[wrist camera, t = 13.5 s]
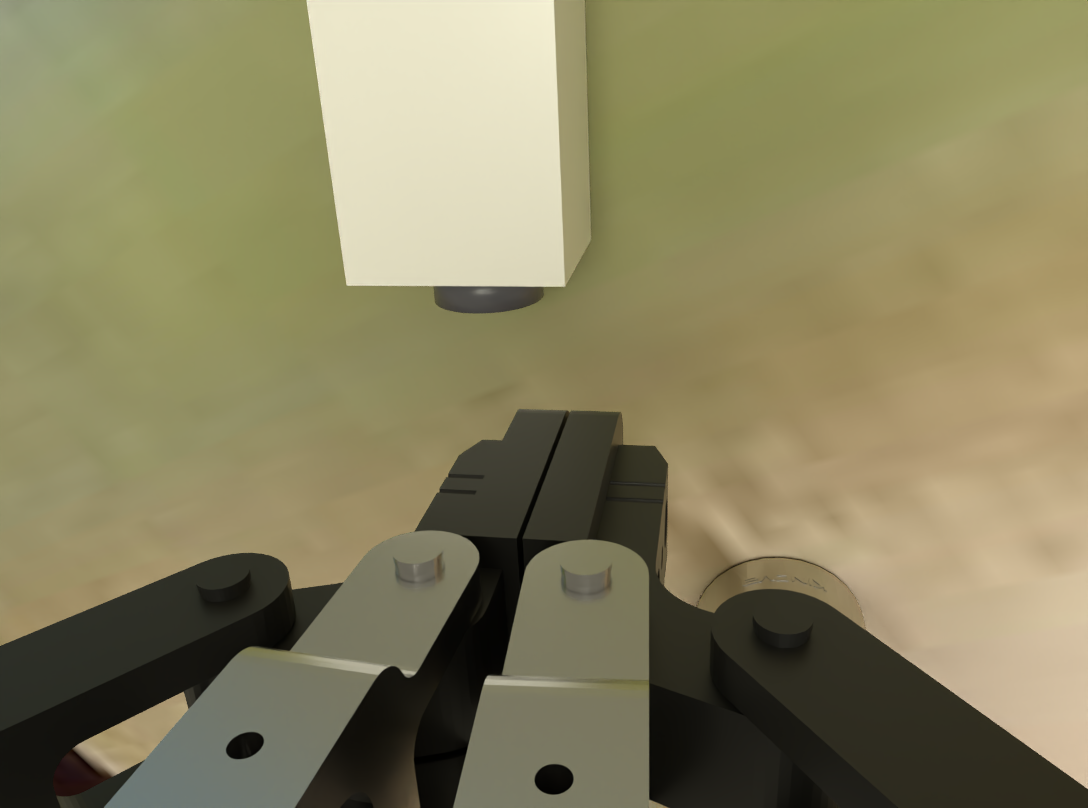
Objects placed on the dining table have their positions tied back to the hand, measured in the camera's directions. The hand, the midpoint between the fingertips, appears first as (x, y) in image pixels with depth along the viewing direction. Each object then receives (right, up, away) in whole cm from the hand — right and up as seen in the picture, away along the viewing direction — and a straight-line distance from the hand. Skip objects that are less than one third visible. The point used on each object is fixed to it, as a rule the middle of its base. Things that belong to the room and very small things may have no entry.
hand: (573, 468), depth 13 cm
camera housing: (-3, +18, +27) cm, 33 cm away
